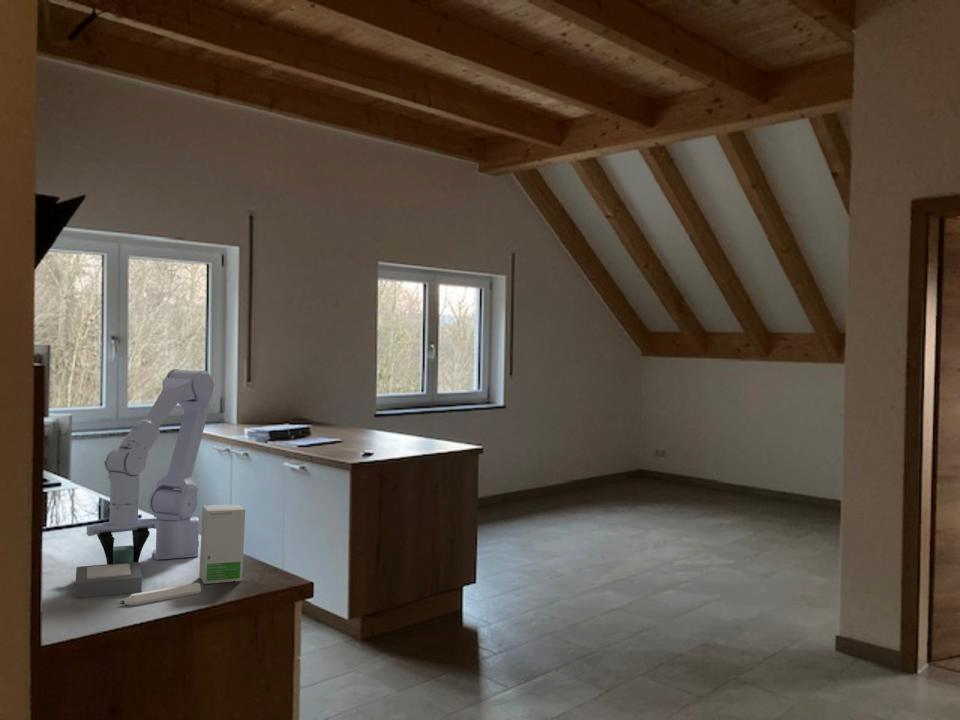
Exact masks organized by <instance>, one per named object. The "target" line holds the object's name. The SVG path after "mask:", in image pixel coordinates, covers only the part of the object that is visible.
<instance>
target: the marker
mask: <svg viewBox="0 0 960 720" xmlns="http://www.w3.org/2000/svg"><path fill="white" fill-rule="evenodd" d="M201 591H202V588H201V583H199V582H195V583H188V584H182V585H178V586H177V585H176V586H171V587H164V588H158V589H155V590H154V589H153V590H148V591H143V592H135V593H130V595H129V596H128V597H126V598H125V599H123V600H121V601H119V602H118V603H116V605H126V606H138V605H143V604H148V603H154V601H155V602H159V601H165V600H169V599H175V598H181V597H186V596H192V595H196V594H201Z"/></svg>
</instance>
